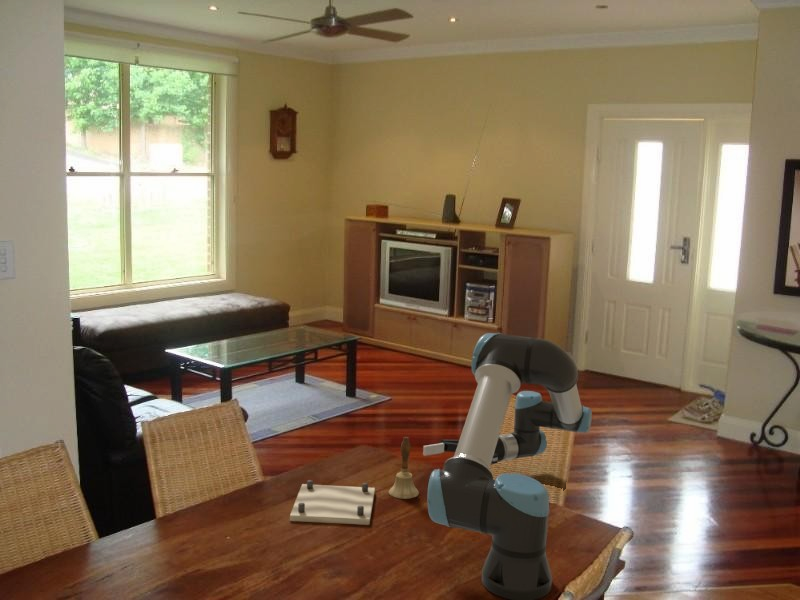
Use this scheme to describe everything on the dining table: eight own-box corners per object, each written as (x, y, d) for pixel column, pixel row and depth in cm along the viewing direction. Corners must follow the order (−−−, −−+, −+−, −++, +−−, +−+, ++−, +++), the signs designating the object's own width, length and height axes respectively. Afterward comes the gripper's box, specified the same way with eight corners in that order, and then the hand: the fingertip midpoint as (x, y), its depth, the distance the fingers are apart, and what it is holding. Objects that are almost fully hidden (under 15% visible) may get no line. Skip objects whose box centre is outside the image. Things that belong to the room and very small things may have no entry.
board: (369, 524, 203) (369, 511, 202) (289, 520, 204) (290, 507, 203) (374, 492, 223) (374, 480, 222) (302, 489, 223) (302, 477, 223)
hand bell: (385, 488, 226) (387, 433, 224) (413, 486, 229) (415, 431, 226) (393, 500, 218) (395, 443, 216) (422, 497, 221) (425, 441, 218)
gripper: (523, 475, 227) (459, 488, 217) (474, 446, 248) (413, 456, 238) (525, 450, 225) (460, 461, 215) (475, 423, 247) (414, 432, 237)
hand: (435, 458), depth 227 cm, fingers open, 13 cm apart
